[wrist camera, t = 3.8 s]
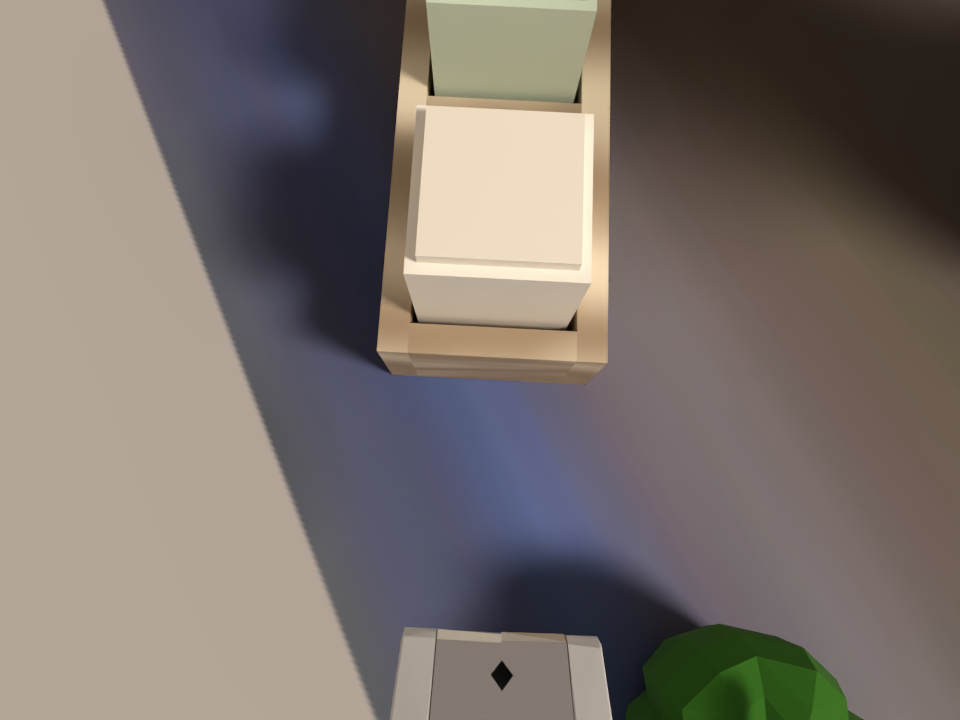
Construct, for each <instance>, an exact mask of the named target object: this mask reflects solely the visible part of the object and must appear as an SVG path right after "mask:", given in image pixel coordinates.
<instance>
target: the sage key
mask: <svg viewBox="0 0 960 720" xmlns="http://www.w3.org/2000/svg"><path fill="white" fill-rule="evenodd" d="M426 8H427V18H428V29H429V39H430V50H431V61H432V71H433V82H434V92H435V96H441V97H460V98H480V99H499V100H518V101H538V102H557V103H574V99H575V95H576V91H577V87H578V83H579V79H580V75H581V71H582V68H583V64H584V60H585V56H586V52H587V48H588V44H589V40H590V36H591V32H592V29H593V25H594V21H595V17H596V13H597V0H426Z"/></svg>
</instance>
